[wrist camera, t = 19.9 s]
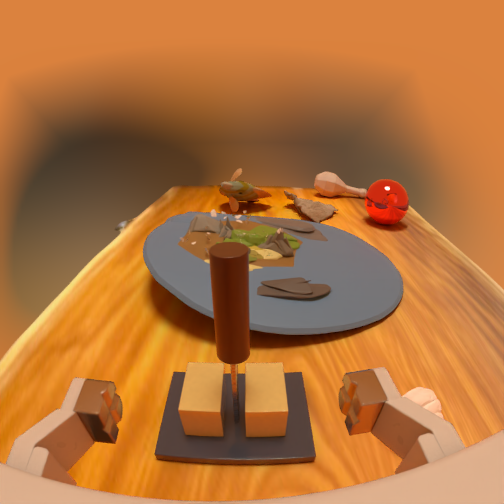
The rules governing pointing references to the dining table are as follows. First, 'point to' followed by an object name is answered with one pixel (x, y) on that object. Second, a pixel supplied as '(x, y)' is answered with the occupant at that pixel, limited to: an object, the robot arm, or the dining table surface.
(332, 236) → the serving platter
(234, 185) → the decorative fish sculpture
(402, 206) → the ball
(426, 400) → the peach ridged curved piece
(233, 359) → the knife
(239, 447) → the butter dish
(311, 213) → the coral
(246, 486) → the dining table surface
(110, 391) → the robot arm
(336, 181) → the faceted beige polyhedron
